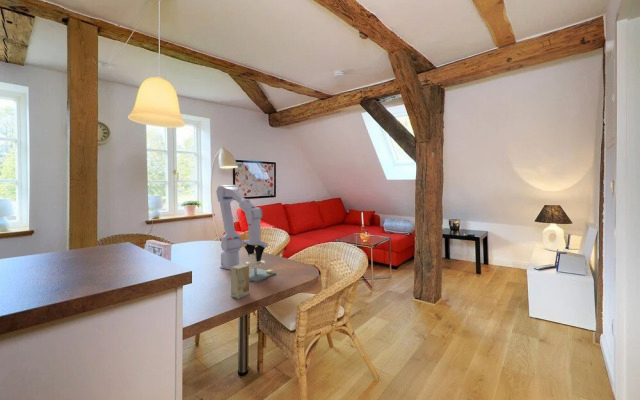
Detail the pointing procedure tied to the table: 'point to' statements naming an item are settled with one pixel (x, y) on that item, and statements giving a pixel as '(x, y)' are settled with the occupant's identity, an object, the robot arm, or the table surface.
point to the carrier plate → (259, 274)
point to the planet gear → (254, 261)
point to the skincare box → (239, 281)
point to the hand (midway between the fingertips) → (255, 260)
